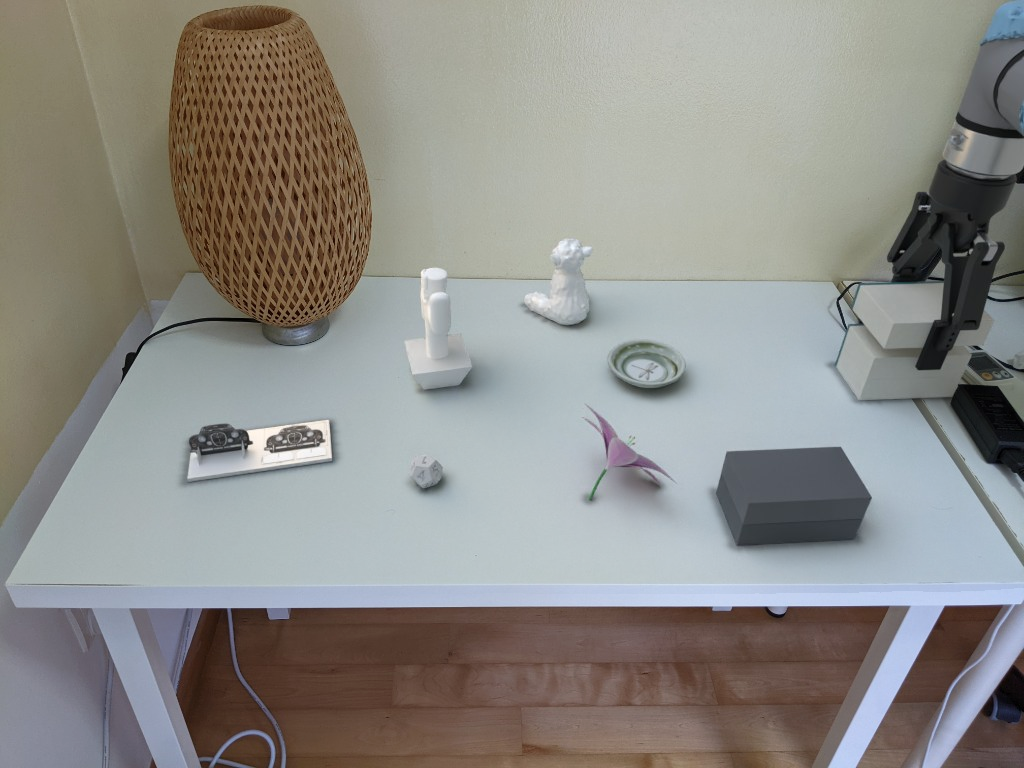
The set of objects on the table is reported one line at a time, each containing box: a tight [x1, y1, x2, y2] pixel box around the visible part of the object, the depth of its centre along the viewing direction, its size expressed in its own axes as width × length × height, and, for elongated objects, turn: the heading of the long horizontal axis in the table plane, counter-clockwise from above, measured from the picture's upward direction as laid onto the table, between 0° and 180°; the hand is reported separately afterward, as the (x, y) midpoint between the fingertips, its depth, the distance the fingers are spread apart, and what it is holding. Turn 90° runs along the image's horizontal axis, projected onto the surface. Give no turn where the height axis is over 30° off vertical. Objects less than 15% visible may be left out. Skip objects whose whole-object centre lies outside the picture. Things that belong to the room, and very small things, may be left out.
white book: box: [850, 280, 996, 349], centre depth 91 cm, size 12×9×4 cm
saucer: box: [606, 338, 687, 389], centre depth 97 cm, size 10×10×2 cm
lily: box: [581, 402, 678, 501], centre depth 80 cm, size 12×12×10 cm
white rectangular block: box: [834, 323, 973, 401], centre depth 96 cm, size 12×7×6 cm, turn 94°
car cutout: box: [186, 419, 333, 483], centre depth 84 cm, size 15×7×4 cm, turn 103°
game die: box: [407, 453, 444, 489], centre depth 82 cm, size 4×4×3 cm
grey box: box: [715, 446, 873, 546], centre depth 77 cm, size 12×7×6 cm, turn 94°
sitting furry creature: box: [524, 237, 594, 326], centre depth 105 cm, size 10×9×12 cm
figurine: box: [403, 267, 474, 391], centre depth 92 cm, size 7×9×15 cm
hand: (907, 344), depth 94 cm, fingers closed on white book, 9 cm apart
